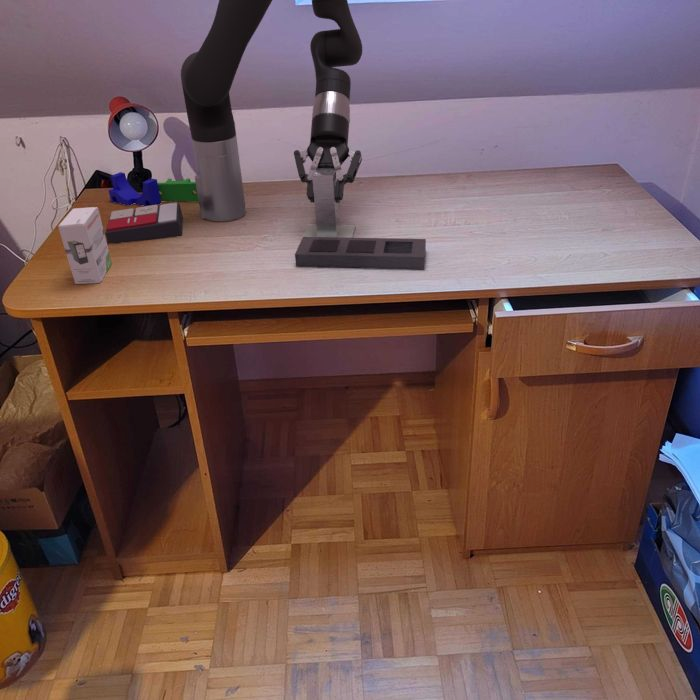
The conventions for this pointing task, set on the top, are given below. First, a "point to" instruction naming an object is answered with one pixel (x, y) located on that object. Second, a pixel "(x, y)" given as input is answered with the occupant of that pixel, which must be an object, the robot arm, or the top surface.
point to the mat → (344, 232)
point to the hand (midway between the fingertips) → (324, 200)
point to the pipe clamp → (178, 190)
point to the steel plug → (325, 202)
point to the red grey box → (145, 223)
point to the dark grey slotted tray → (361, 253)
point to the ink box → (85, 245)
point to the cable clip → (129, 196)
